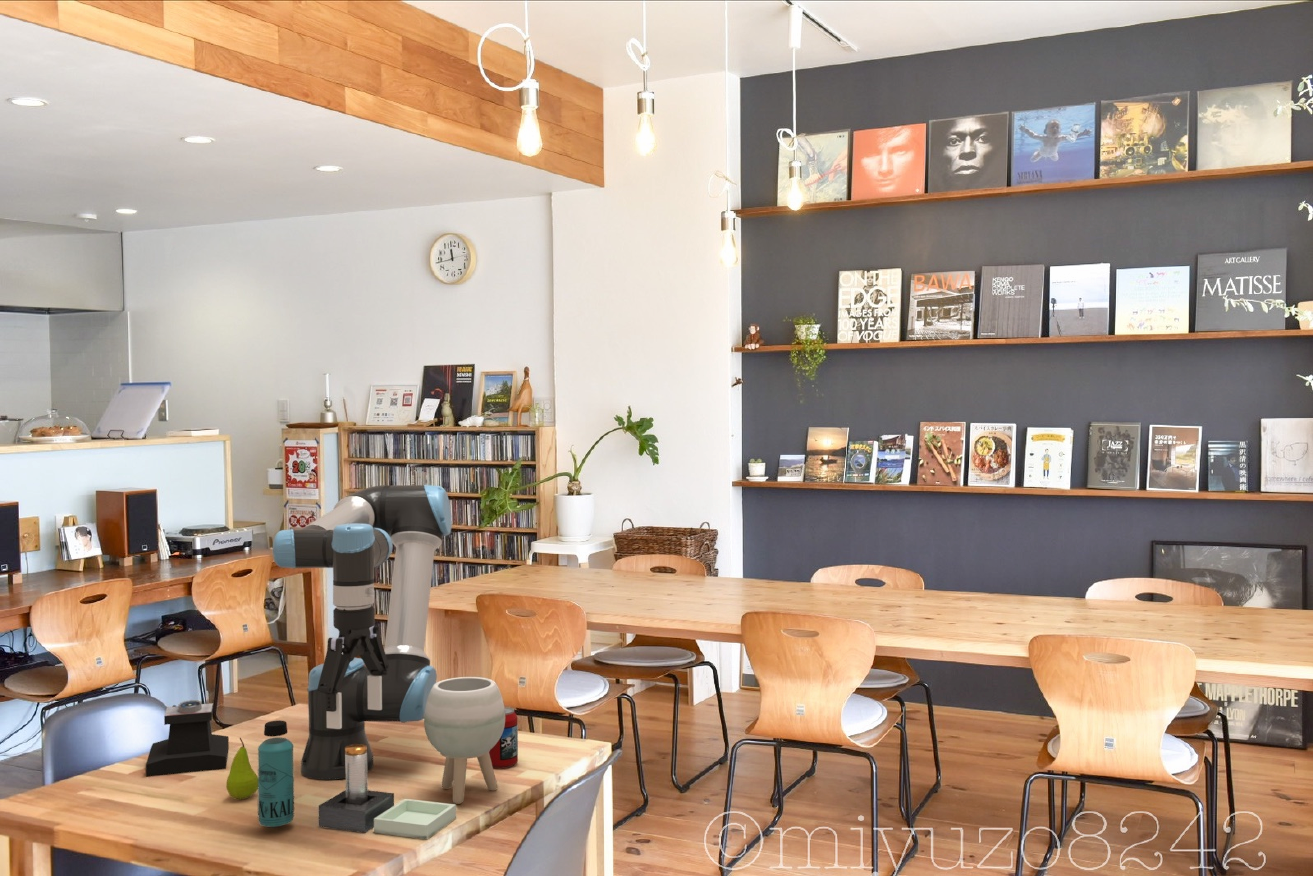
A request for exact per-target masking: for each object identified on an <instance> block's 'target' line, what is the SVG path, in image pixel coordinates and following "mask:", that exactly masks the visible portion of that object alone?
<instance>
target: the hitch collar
mask: <svg viewBox="0 0 1313 876" xmlns="http://www.w3.org/2000/svg"><path fill="white" fill-rule="evenodd" d="M394 805H395V793H394V792H386V791H376V790H369V789H368V802H366V803H364V804H363V805H352V804H346V789H345V790H343V791H342V792H339V793H337V794H336V795H335V796H333V797H331V798H329V799H328V800H326V801H324V802H322V803H321V804H319V805H318V827H319V828H324V829H325V828H326V829H332V830H341V831H347V832H357V833H364V834H366V833H368V832H369V831H371V830H372V829H374V818H376V817H377V816H379V815H381V814H382V813H384V812H385V811H387V810H388V809H390V808H391V807H393V806H394Z"/></svg>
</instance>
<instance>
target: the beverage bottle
mask: <svg viewBox="0 0 1313 876" xmlns="http://www.w3.org/2000/svg"><path fill="white" fill-rule="evenodd" d="M287 733H288V724H287V721H285V720H280V719H279V720H271V721H268V722H266V723H264V730H263V735H264V736H265V737H270V738H267V739H265V740H264V741H262V743H260V744H259V745H258V747H257V751H258V753H257V754H258V768H257V777H258V789H257V795H258V810H257V819H258V823H259V825H260V826H262V827H269V828H270V827H271V828H274V827H280V826H284V825H287V824H290V823H291V822H292V821H293V820H294V816H295V777H294V744H293V742H292V741H290V740H289V739H288V738H286V737H282V736H285V735H286V734H287Z"/></svg>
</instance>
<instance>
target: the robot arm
mask: <svg viewBox="0 0 1313 876" xmlns="http://www.w3.org/2000/svg"><path fill="white" fill-rule="evenodd" d="M449 499H450V498H449V496H448V493H447V491H446V489H445V488H443V487H442V486H441V485H431V484H429V485H428V484H420V485H419V484H418V485H417V484H415V485H414V484H412V485H410V484H409V485H406V484H403V485H400V484H399V485H398V484H396V485H386V484H382V485H374V486H371V487H367V488H366V487H365V488H363V489H361V490H357V491H355V492H353V493H351V494H348V495H347V496H345V497H343V498H341V499H340V500H339V501H337V503H336V504H335V505H334V507H333V509H332V510H330V511H328V512H327V513H326V514H324V515H322V516H321V517H319V518H317V519H316V520H313V522H311V523H309V524H308V525H306V526H304V527H303V528H301V529H294V528H291V529H283V530H279V531H277V533H276V534H275V536H274V538H273V543H272V556H273V561H274V563H275V565H276V566H278V567H280V568H287V569H294V570H295V569H318V568H319V569H322V568H323V569H332V605H333V606H334V607H335V608H334V609H333V611H332V612H333V614H332V615H333V628H334V629H336V630H338V637H329V638H328V639H327V645H326V646H327V649H326V652H325V653H326V654H325V658H324V662H323V663H321V664H319V665H316V666H314V667H313V668H312V669H311V670H310V671H309V673H308V686H307V687H308V688H307V689H306V690H307V694H308V695H307V700H308V702H307V703H308V736H307V737H308V738H307V741H306V744H305V749H304V750H303V754H302V757H301V761H300V773H301V775H302V776H304V777H306V778H309V779H314V780H324V781H325V780H330V781H331V780H342V779H346V778H345V747H346V746H349V745H353V744H364V745H367V773H368V772H369V771H371V770H372V769H373V768H374V753H373V752H372V748H371V745H370V742H369V738H368V736H367V734H366V728H365V727H366V726H365V722H372V723H373V722H374V723H375V722H378V723H379V722H391V723H393V722H399V723H400V722H401V723H408V722H420V721H424V714H425V707H426V702H427V699H428V696H429V693H430V691H431V689H432V687H433V685H434V684H435V683H437V679H438V675H437V670H436V668H435V667H434V666H432V665H431V659H430V657H429V656H428V655H427V654H426V653H425V647H426V636H427V625H428V617H429V616H428V615H429V609H430V608H429V605H430V598H431V597H430V596H431V584H432V576H433V568H434V567H433V566H434V557H435V556H434V555H435V550H437V549H438V548H440V547H441V545H442V544H443V537H447V536H449V535H450V534H451V532H452V512H451V504H450V500H449ZM393 545H394V546H395V555H394V564H393V574H392V579H391V580H392V581H391V589H390V590H391V591H390V598H389V606H388V615H387V623H386V631H385V632H386V634H385V641H384V642H385V643H384V645H383V642H382V639H381V631H380V626H379V625H375V623H376V621H375V619H376V618H375V617H376V615H375V614H376V613H375V610H376V609H375V607H374V606H373V604H374V603H375V592H376V591H375V584H374V583H375V568H377V567H379V566H381V565H383V564H384V563H385V562H386V561H387V560H388V559H389V558H390V556H391V554H392V552H393V548H394V546H393ZM358 656H359V658H357V657H358Z"/></svg>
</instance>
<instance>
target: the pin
mask: <svg viewBox="0 0 1313 876" xmlns="http://www.w3.org/2000/svg"><path fill="white" fill-rule="evenodd" d="M344 779H345V790H346V804H352V805H363V804H364V803H366V802H368V790H369V789H368V772H367V745H364V744H353V745H349V746H346V747H345V778H344Z"/></svg>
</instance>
